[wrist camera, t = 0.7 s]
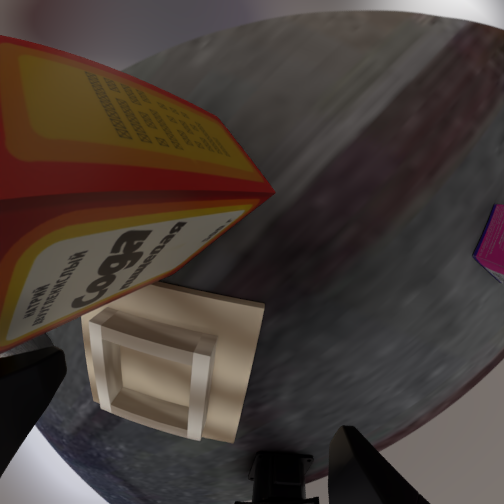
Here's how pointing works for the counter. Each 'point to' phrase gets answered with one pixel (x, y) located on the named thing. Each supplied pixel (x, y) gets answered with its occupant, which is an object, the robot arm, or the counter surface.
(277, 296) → the counter surface
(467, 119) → the counter surface
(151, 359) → the square peg hole base
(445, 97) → the counter surface
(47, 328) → the baking soda box
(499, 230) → the supplement box
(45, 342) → the aluminium peg
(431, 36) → the counter surface
